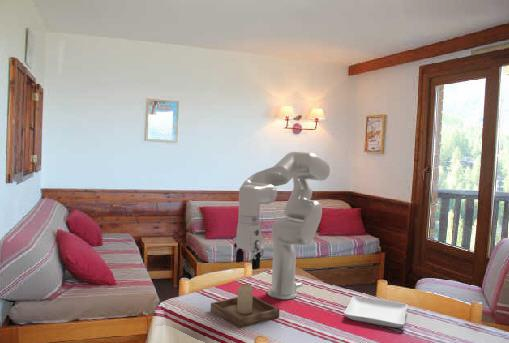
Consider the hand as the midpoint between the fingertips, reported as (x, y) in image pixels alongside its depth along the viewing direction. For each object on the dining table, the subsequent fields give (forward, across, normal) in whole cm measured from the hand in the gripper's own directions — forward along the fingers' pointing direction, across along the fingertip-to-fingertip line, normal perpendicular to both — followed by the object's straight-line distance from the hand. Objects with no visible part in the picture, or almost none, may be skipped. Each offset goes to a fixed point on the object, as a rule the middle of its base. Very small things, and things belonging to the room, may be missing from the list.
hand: (247, 265), depth 165 cm
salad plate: (+20, -28, -40) cm, 53 cm away
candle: (+18, 0, +1) cm, 18 cm away
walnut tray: (+18, 0, +1) cm, 18 cm away
